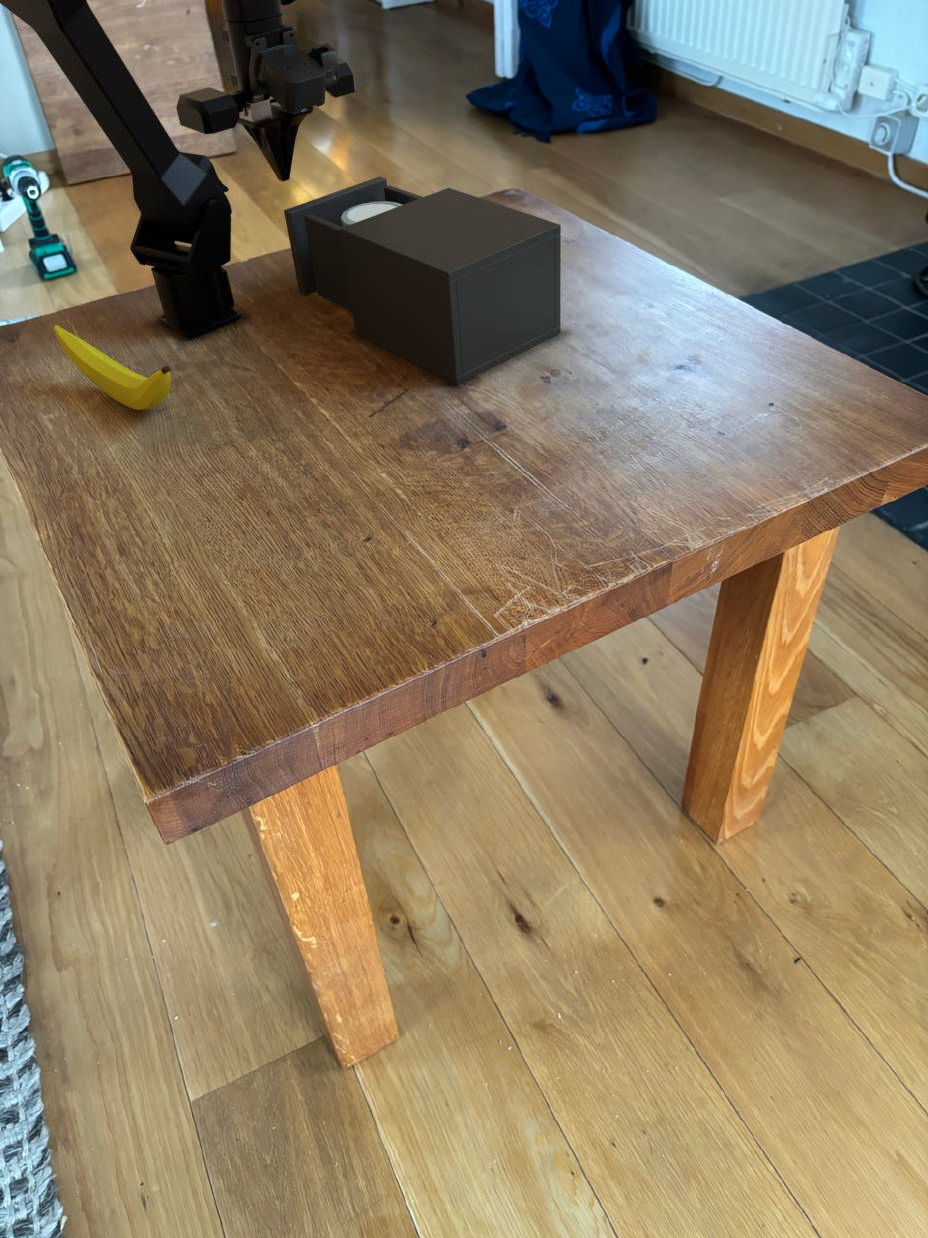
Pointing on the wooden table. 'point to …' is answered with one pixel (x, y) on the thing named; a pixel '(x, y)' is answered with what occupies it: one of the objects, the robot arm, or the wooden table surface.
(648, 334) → the wooden table surface
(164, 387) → the banana
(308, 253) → the drawer
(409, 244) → the cabinet
